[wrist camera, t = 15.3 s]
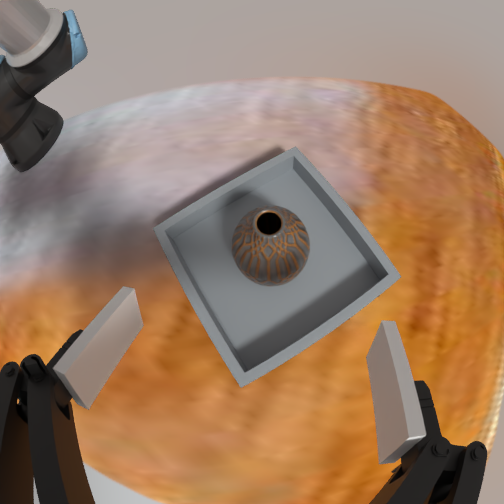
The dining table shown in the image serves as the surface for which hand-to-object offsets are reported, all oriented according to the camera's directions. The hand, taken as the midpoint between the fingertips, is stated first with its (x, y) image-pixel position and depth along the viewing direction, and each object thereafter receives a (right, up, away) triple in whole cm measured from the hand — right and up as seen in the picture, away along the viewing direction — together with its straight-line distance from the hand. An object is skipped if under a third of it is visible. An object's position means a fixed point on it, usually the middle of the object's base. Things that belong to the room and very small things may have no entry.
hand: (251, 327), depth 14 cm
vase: (+2, +3, +15) cm, 15 cm away
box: (+2, +3, +15) cm, 16 cm away
